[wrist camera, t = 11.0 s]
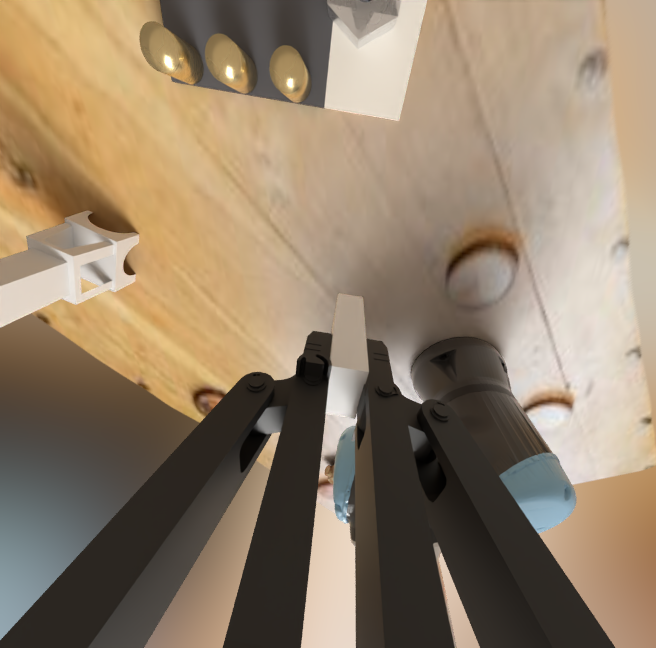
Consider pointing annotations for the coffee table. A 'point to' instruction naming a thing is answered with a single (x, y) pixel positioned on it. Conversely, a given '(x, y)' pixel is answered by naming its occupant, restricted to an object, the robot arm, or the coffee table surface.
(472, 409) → the robot arm
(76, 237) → the sculpture
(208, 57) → the spacers
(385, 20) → the nut
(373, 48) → the mat
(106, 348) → the coffee table surface
